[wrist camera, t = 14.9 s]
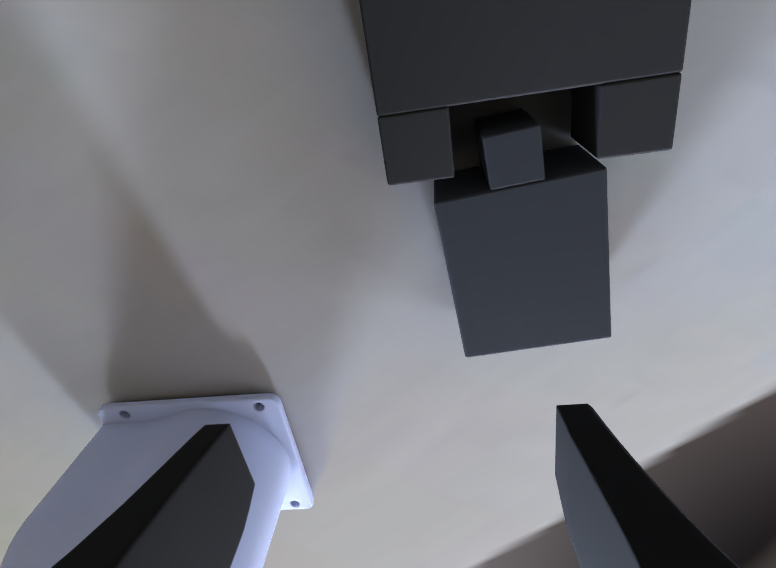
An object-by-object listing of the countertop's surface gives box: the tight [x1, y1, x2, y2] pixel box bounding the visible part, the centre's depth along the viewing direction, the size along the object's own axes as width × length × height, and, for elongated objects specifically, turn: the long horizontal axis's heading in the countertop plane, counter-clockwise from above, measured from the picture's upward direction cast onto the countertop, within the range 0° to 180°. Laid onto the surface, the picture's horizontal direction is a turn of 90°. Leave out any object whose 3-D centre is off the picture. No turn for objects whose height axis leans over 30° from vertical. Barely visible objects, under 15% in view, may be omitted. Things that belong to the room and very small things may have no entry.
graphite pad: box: [434, 108, 611, 357], centre depth 16 cm, size 5×8×3 cm, turn 14°
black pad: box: [359, 0, 691, 185], centre depth 13 cm, size 8×8×3 cm
